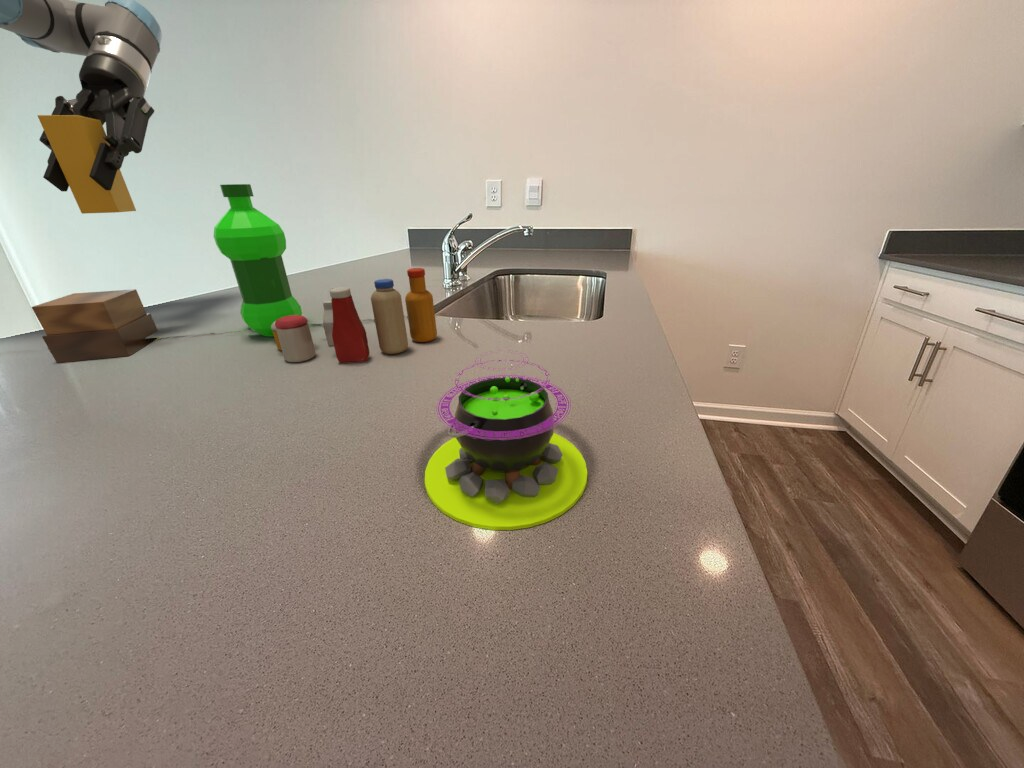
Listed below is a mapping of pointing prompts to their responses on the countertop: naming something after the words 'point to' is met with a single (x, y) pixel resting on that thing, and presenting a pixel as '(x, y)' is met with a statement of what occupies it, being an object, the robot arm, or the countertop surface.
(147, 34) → the robot arm
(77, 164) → the bar
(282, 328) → the toy food
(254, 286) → the plastic bottle
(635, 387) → the countertop surface
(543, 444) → the toy cauldron
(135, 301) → the stacked wooden blocks
